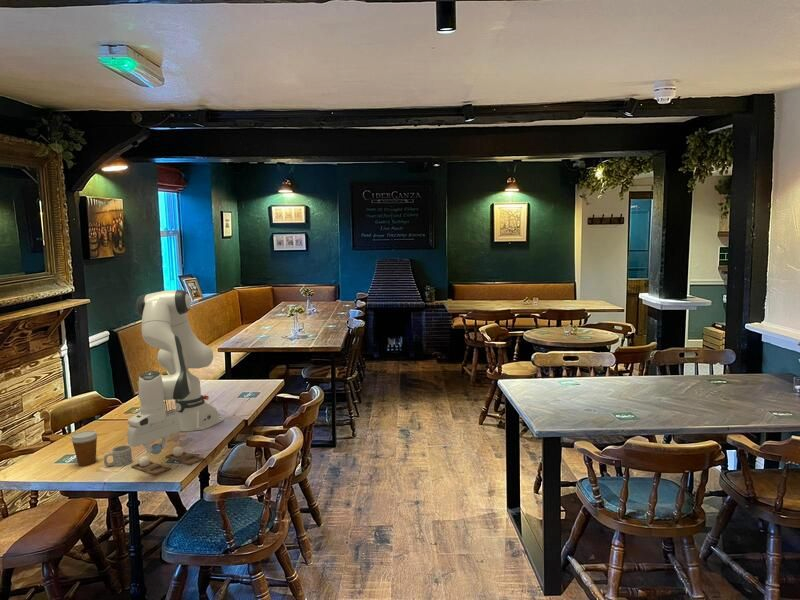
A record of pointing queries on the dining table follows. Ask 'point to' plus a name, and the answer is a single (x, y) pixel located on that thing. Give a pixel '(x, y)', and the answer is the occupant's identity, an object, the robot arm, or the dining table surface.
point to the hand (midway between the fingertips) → (156, 450)
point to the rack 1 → (152, 468)
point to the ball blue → (156, 448)
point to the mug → (119, 456)
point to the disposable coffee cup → (85, 447)
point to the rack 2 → (186, 458)
